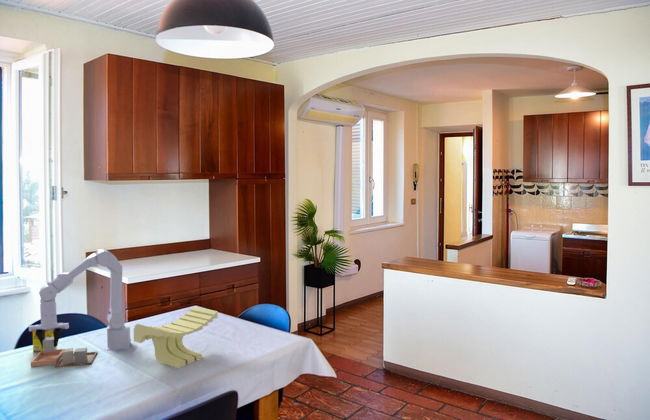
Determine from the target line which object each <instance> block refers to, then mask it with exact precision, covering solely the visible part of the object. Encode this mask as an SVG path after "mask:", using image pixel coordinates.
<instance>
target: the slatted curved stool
mask: <svg viewBox="0 0 650 420" xmlns="http://www.w3.org/2000/svg"><path fill="white" fill-rule="evenodd" d="M218 318H219V317H218V311H217V310H213V309H208V308H204V307H201V306H200V307H199V306H196V307H193V308H191V309H190V310H189V311H187V312H185V313H184V315H183V316H180V317H179V319H176V320H175V321H172V322H171V323H167V324H164V325H161V326H158V325H157V326H148V325H144V324H140V323H137V324H136V325H134V327H133V342H136V343H139V344H142V343H144V342H145V341H146V340H147V341H148V340H152V345H153V346H154V356H155V360H156V362H158V363H162V364H165V365H168V366H170V365H171V366H170V367H173V366H175V367H174V368H176V367H178V368H177V369H179V367H180V368H182V367H184V365H185V366H186V365H189V363H190V364H192V363H194V362H195V361H196V360H197V361H199V360H202V359H203V358H204V357H203V355H202V353H199V352H195V351H194V350H190V349H189V348H187V347H185V345H184V344H183V339H184V336H186V335H188V336H189V335H190V334H192V333H195V332H199V331H201V330H203V329H204V327H207V326H209V323H213V321H214V320H213V319H218ZM201 358H202V359H201ZM198 359H199V360H198ZM191 362H192V363H191ZM181 366H182V367H181Z"/></svg>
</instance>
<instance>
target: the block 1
mask: <svg viewBox="0 0 650 420" xmlns="http://www.w3.org/2000/svg"><path fill="white" fill-rule="evenodd" d="M57 347H58V346H57ZM57 347H54V337H45V339H44V340H43V352H54V351H55V350H56V349H57Z"/></svg>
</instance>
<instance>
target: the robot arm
mask: <svg viewBox="0 0 650 420" xmlns="http://www.w3.org/2000/svg"><path fill="white" fill-rule="evenodd" d="M99 265H100V266H102V267H105V268H106V269H108V270H109V271H110V273H109V274H110V281H109V283H110V284H109V285H110V286H109V307H108V313H107V315H106V322H107V323H108V325H107V327H106V337H107V339H106V340H107V341H106V343H107V346H106V347H105V351H110V350H114V351H115V350H124V349H125V350H126V349H129V348H130V345H131V341H132V339H131V327H130V326H125V323H126V322H125V318H124V315H123V314H124V313H123V311H124V310H123V305H122V304H123V300H122V299H123V298H122V297H123V266H122V264H121V263H120V261H119V260H118V258H117V257H116V256H115V255H114V254H113V253H112V252H111V251H109V250H108V249H106V248H100V249H97V250H96V251H95V252H93V253H91V254H89V255H88V256H87V257H86V258H84V259H83V260H82V261H81V262H79V263H78V264H77V265H76V266H75V267H73V268H72V269H70V271H68V272H62V273H58V274H57V275H56V277H55V278H54V279H52V280H51V281H48V282H47V283H46V285H43V286H42V287H40V289H39V291H38V292H39V293H38V294H39V297H40V300H39V301H40V305H39V308H40V309H39V310H40V311H39V312H40V324H34V325H32V324H31V325H29V326H28V332H33V331H36V333H35V334H36V336H37V337H38V339H39V340H40V343H41V346H42V348H43V340H44V339H45V330H51V329H54V331H53V334H54V347H58V343H59V339H60V336H61V334H62V331H63V329H64V330H68V329H69V328H70V324H69V323H70V322H58V318H57V317H58V316H57V303H56V297H57V294H60V293H61V292H62V291H64V290H65V289H66V288H68V287H69V286H71V284H73V282H74V279H75V278H77V276H79V275H80V274H82V273H84V271H86V270H87V269H89V268H92V267H98V266H99Z"/></svg>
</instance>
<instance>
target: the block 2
mask: <svg viewBox="0 0 650 420" xmlns="http://www.w3.org/2000/svg"><path fill="white" fill-rule="evenodd" d="M87 352H88V347H82V348H81V347H79V348H76V349H75V350H73V353H74V364H76V363H86V361H87Z"/></svg>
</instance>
